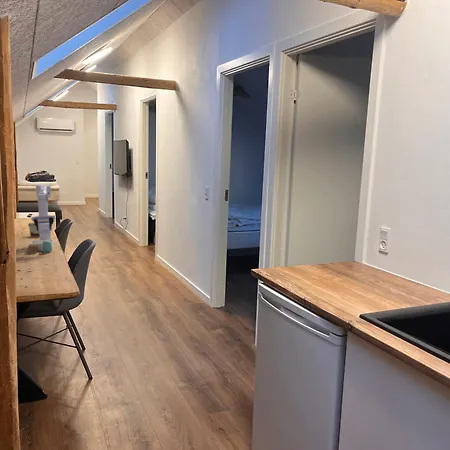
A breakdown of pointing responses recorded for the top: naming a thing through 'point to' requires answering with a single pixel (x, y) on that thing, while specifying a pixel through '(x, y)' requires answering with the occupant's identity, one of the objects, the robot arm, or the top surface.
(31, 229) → the food container
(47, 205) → the robot arm
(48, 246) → the teal cylinder
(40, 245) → the tote
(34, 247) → the walnut cube
